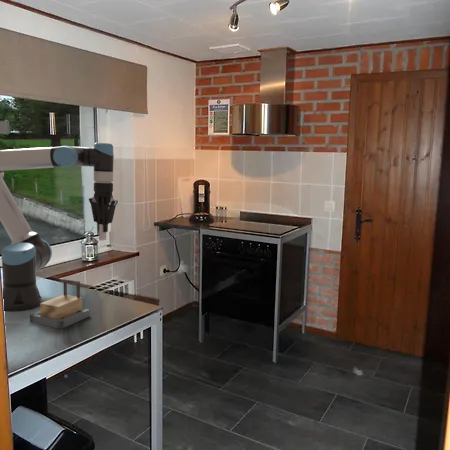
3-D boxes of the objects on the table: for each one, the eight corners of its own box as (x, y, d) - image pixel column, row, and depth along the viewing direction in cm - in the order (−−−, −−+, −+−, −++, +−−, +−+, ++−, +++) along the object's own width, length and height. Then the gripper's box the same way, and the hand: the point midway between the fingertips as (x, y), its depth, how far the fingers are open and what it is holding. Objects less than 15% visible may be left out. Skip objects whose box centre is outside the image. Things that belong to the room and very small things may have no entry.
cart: (39, 322, 160) (38, 286, 158) (63, 312, 171) (62, 278, 169) (60, 326, 156) (59, 290, 154) (83, 316, 167) (82, 281, 165)
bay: (30, 321, 159) (29, 314, 159) (60, 309, 172) (60, 303, 172) (60, 329, 154) (60, 322, 153) (89, 316, 167) (89, 309, 166)
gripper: (122, 182, 184) (121, 240, 187) (96, 180, 189) (96, 236, 192) (110, 183, 177) (109, 243, 180) (84, 181, 182) (83, 239, 186)
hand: (102, 239), depth 186 cm, fingers closed
